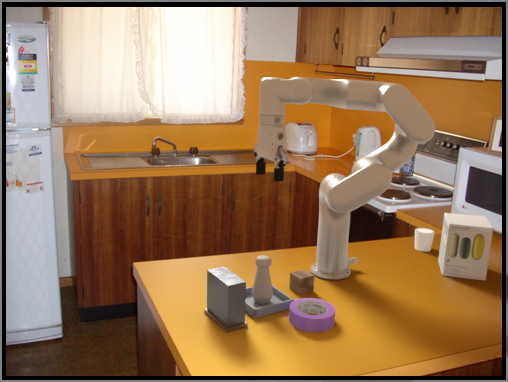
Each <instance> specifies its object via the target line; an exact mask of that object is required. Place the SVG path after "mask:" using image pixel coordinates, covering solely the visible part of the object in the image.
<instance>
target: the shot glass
mask: <svg viewBox="0 0 508 382" xmlns="http://www.w3.org/2000/svg"><path fill="white" fill-rule="evenodd" d="M435 233H436V232H435V230H433V229H430V228H427V227H417V228H416V227H415V228H414V249H415V250H416V251H419V252H423V253H424V252H425V253H426V252H430V251H431V250H432V245H433V242H434V238H435Z"/></svg>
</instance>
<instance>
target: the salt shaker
mask: <svg viewBox="0 0 508 382" xmlns="http://www.w3.org/2000/svg"><path fill="white" fill-rule="evenodd" d="M254 263H255V266H257V267H256V271H255V275H254V281H253V289H252V296H253V299H254V301H255V302H256V303H257V304H261V305H265V304H268V303H269V302H270V300H271V298H272V296H273V290H272V285H273V284H272V279H271V273H270V267H271V265H272V258H271V257H270V256H269V255H266V254H265V255H264V254H262V255H258V256H256V258H255V262H254Z"/></svg>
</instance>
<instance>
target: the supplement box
mask: <svg viewBox="0 0 508 382" xmlns="http://www.w3.org/2000/svg"><path fill="white" fill-rule="evenodd" d="M441 229H442V230H441V234H440V235H441V237H440V242H439V243H440V244H439V251H438V258H437V259H438V260H437V262H438V265H439V268H440V273H441V275H442V276H443V277H444V276H445V277H450V278H458V279H459V278H460V279H461V278H462V279H468V280H477V281H487V273H488V268H489V267H488V266H489V260H490V253H491V245H492V241H493V233H494V227H493V225H492V224H491V222H490V221H489V219H488V217H487V216H486V215H477V214H475V215H474V214H473V215H472V214H466V213H453V212H451V213H450V212H444V214H443V221H442V227H441Z"/></svg>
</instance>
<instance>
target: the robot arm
mask: <svg viewBox="0 0 508 382" xmlns="http://www.w3.org/2000/svg"><path fill="white" fill-rule="evenodd" d="M259 83H260V84H259V100H258V101H259V102H258V103H259V104H258V105H259V106H258V128H257V133H256V134H257V136H256V144H254V145H253V146H252V147H253V152H254V156H255V157H254V158H255V175H256V176H260V175H261V176H262V175H266V169H267V168H266V166H267V162H266V160H268V161H272V162H273V163H274V164H273V165H274V168H273V182H275V183H277V182H284V177H285V169H286V167H287V166H286V165H287V164H288V161H289V158H290V155H289V153H288V152H287V151H288V150H287V149H288V146H287V145H288V143H287V132H286V130H287V129H286V126H285V117H286V116H285V115H286V104H292V105H305V104H319V105H325V106H326V105H327V106H331V107H334V108H338V109H344V110H353V111H355V110H356V111H368V112H369V111H370V112H381V113H387V115H388V116H389V117H390V119H391V120H392V121H393V122H394V129H393V130H394V131H393V134H392V136H391V138H390V139H389V141H387V142H386V143H384V144H383V145H381V146H380V147H379V148H377V149H376V150H374V151H372V152H370V153H368V154H367V155H365V156H363V157H361V158H359V159H358V160H356V162H354V164H353V165H352V168H351V174H350V175H349V176H346V175H344V174H341V173H337V172H336V173H334V172H333V173H330V174H327V175H326V176H325V177H324V178H323V179H322V181H321V182H320V185H319V189H318V199H319V200H318V202H319V203H318V205H319V206H318V207H319V208H318V209H319V210H318V211H319V212H318V227H317V241H316V256H315V258H316V259H315V263H313V264H311V266H310V273H311V274H313V275H314V276H316V277H318V278H321V279H324V280H335V281H338V280H344V279H347V278H348V277H350V276H351V274H352V269H351V268H350V267H349V266H351V264H357V263H358V261H359V259H358V258H357V257H356V256H353V257H349V255H348V248H349V238H350V237H349V234H350V225H351V212H353V211H355V210H357V209H358V208H360V207H362V206H364V205H366V204H367V203H369V202H370V201H373V200H374V199H376V198H378V197H379V196H381V195H382V194H383V193H384V192H386V191H387V190H388V188H389V187H390V186H391V184H392V180H393V174H394V173H395V172H396V171H398V170H400V169H401V168H402V167H404V166H405V165H407V164H408V163H409V162H410V161H411V160H412V158H413V157H414V155H415V153H416V151H417V148H418V146H419V145H422V144H426V143H428V142H430V141H431V140H432V139H433V137H434V135H435V133H436V123H435V121H434V119H433V118H432V116H431V115H430V113H428V111H427V110H426V109H425V108H424V107H423V106H422V105H421V103H420V102H419V101H418V100H417V99H416V98H415V96H414V95H413V94H412V93H411V92H410V90H409V89H408V88H407V87H405V86H404V85H402V84H400V83H393V82H385V81H373V80H359V79H346V78H340V79H339V78H338V79H335V78H334V79H331V78H315V77H302V76H294V77H291V78H288V79H287V78H282V77H274V76H273V77H272V76H271V77H263V78H261V79H260V82H259Z"/></svg>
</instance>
